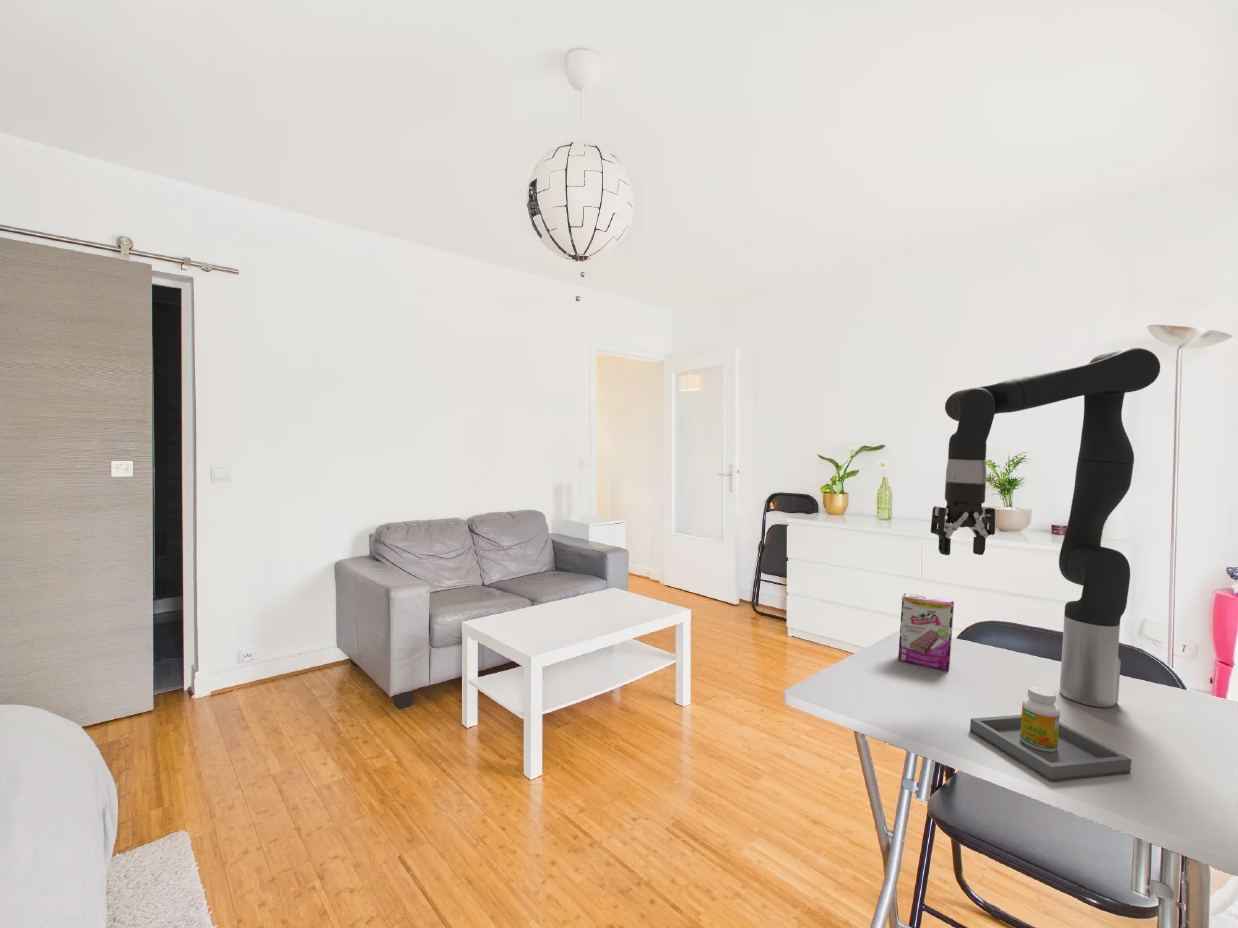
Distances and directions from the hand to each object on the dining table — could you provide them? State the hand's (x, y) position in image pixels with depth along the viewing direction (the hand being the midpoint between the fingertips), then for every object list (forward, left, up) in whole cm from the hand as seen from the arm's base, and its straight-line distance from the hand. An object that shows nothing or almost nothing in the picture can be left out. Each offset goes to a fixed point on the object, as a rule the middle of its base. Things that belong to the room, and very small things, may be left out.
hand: (961, 554), depth 124 cm
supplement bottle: (+4, +24, -30) cm, 38 cm away
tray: (+4, +25, -30) cm, 39 cm away
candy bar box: (-4, -14, -30) cm, 34 cm away
